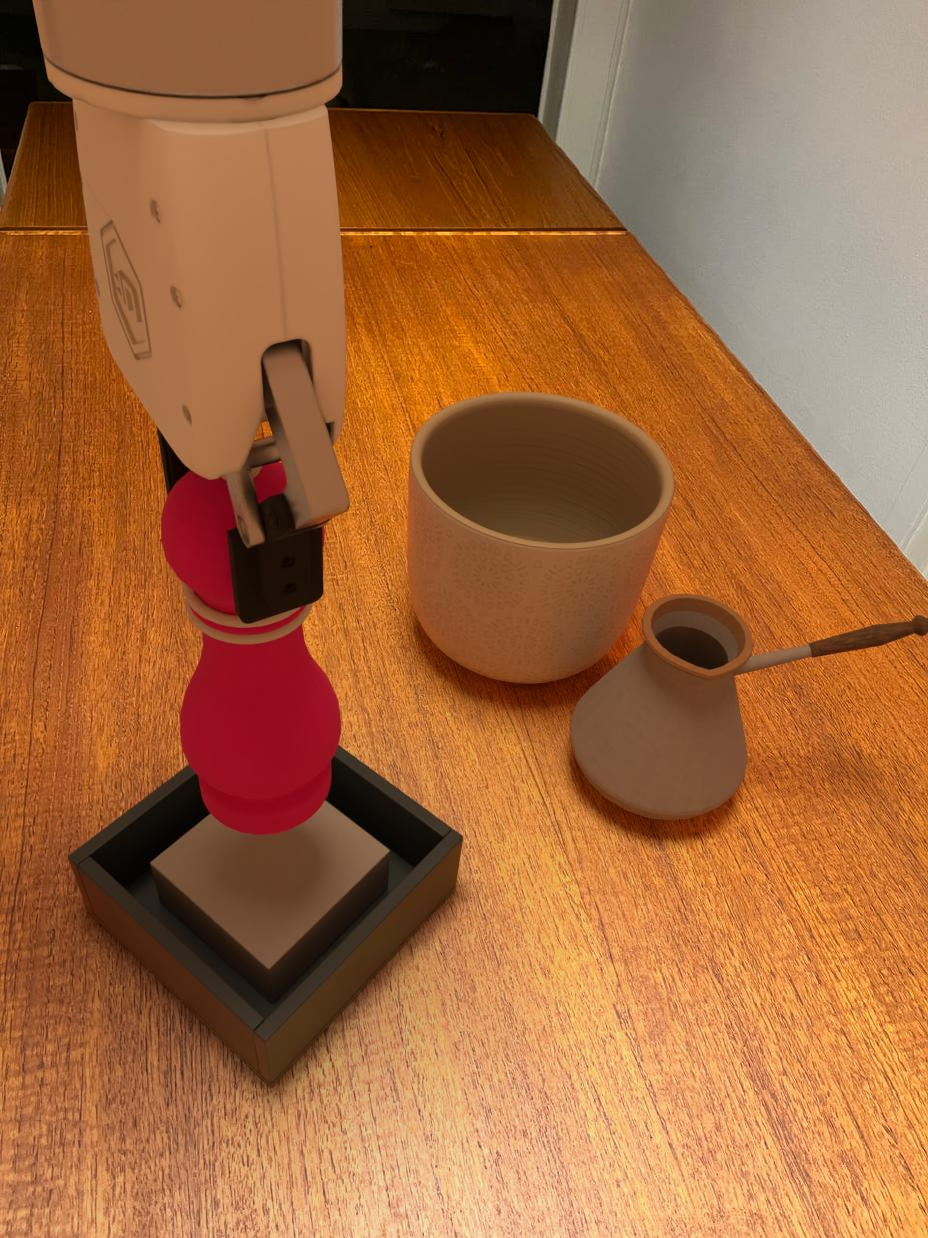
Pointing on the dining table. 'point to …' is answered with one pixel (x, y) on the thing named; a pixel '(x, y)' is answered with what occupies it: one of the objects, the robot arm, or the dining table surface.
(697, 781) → the coffee pot
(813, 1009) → the dining table surface
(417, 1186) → the dining table surface
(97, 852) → the dark square tray
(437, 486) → the planter
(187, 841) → the brown square block
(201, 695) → the pepper mill
